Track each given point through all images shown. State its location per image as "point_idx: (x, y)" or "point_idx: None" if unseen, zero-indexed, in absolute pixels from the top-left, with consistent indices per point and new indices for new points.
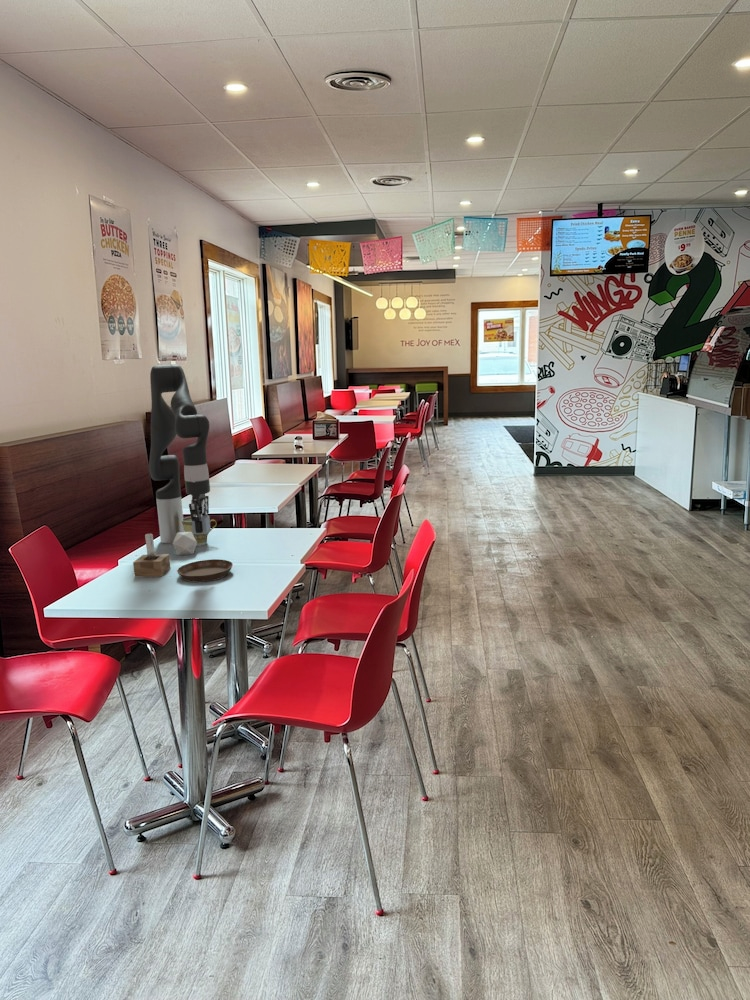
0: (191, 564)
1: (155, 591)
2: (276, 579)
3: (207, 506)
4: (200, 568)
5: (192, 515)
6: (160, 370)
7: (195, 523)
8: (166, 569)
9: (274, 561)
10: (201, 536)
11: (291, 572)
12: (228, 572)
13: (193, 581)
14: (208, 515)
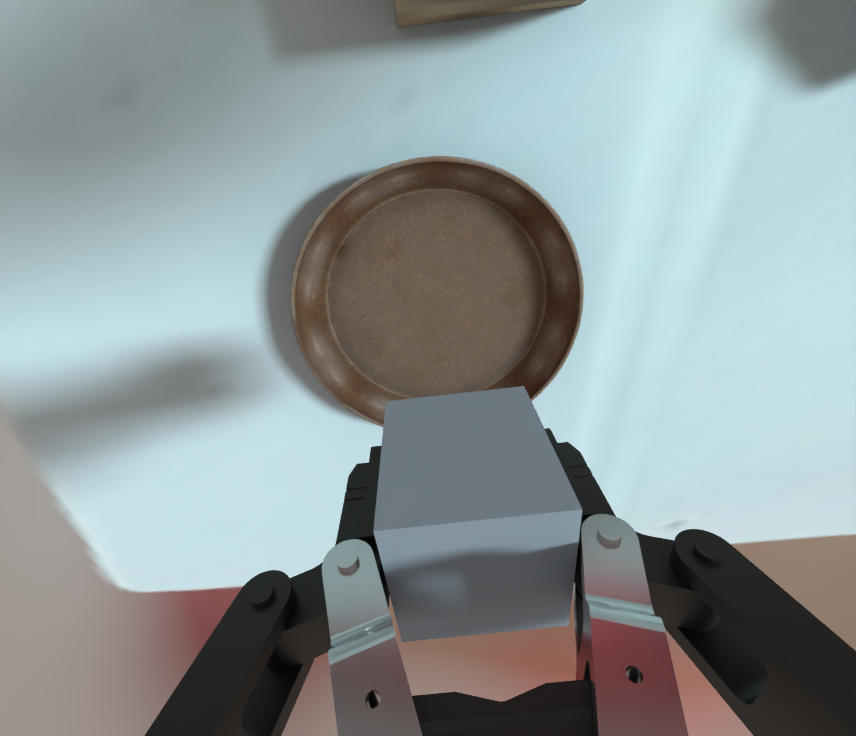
0: (530, 198)
1: (124, 143)
2: None
3: (736, 710)
4: (531, 242)
5: (210, 678)
6: None
7: (339, 535)
8: (503, 9)
9: (608, 495)
10: None
11: None
12: None
13: (327, 288)
14: (560, 622)
